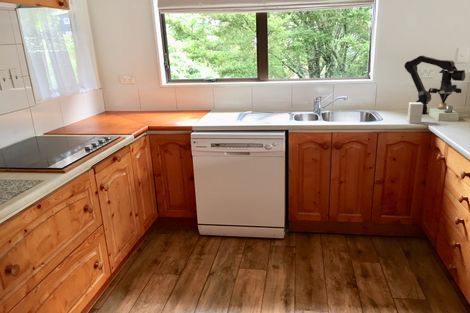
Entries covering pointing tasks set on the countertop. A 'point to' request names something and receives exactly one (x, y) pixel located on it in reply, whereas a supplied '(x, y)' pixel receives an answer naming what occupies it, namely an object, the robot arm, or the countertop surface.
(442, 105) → the oak peg
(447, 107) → the steel peg
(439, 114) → the socket block
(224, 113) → the countertop surface
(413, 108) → the supplement box
